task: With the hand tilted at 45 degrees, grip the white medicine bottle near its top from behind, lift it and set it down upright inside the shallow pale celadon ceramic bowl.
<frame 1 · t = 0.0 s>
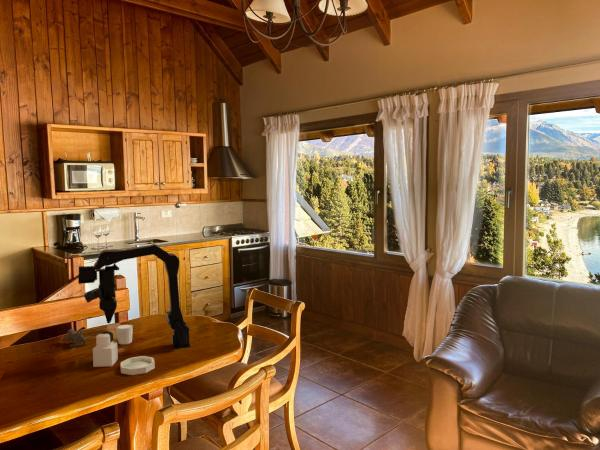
hand: (108, 319, 184), 15 cm above the table, tool pointing down, fingers open, 9 cm apart
medicine bottle: (105, 363, 177), on the table
shot glass: (125, 342, 201), on the table
dog figurine: (74, 344, 198), on the table
bowl: (137, 368, 173), on the table
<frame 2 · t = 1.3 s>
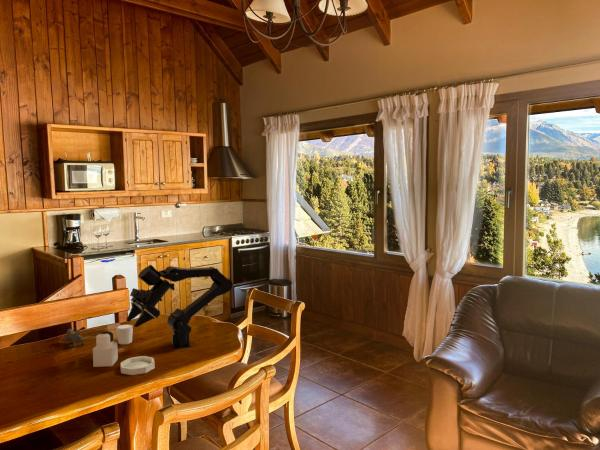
hand: (130, 323, 182), 14 cm above the table, tool tilted 45°, fingers open, 9 cm apart
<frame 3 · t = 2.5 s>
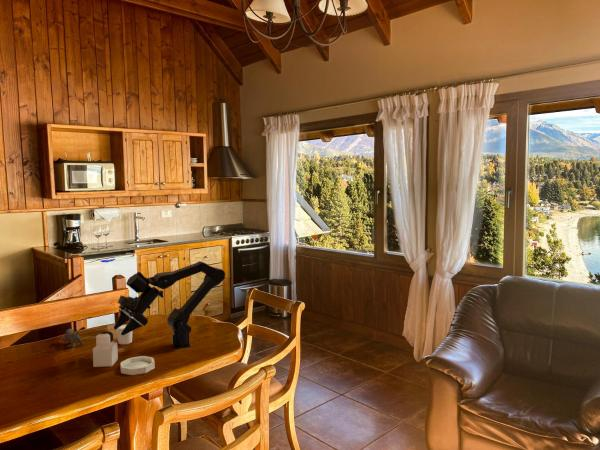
hand: (118, 331, 179), 11 cm above the table, tool tilted 45°, fingers open, 9 cm apart
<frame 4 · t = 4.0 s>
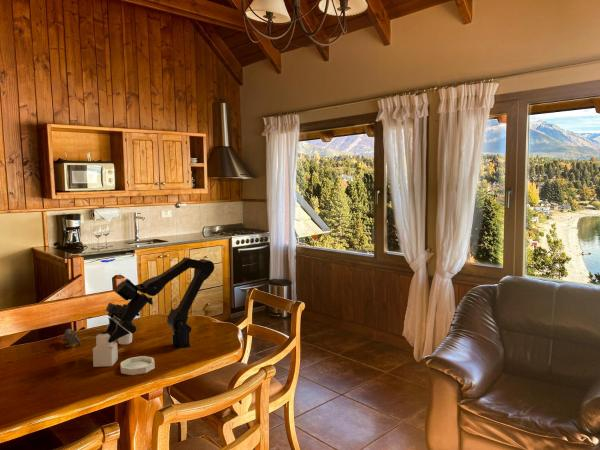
hand: (106, 339, 177), 9 cm above the table, tool tilted 45°, fingers closed on medicine bottle, 6 cm apart
medicine bottle: (105, 363, 177), on the table, touching gripper
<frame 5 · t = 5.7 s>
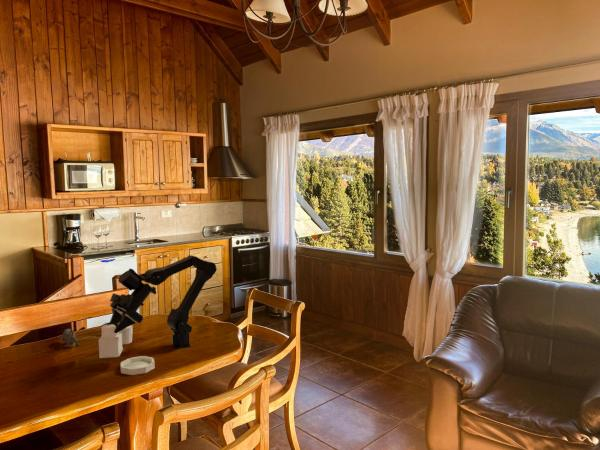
hand: (111, 330, 175), 13 cm above the table, tool tilted 45°, fingers closed on medicine bottle, 6 cm apart
medicine bottle: (111, 354, 176), point 4 cm above the table, touching gripper
when the fingers open (11 cm above the table, at t = 7.4 s): medicine bottle stays where it is, resting on bowl.
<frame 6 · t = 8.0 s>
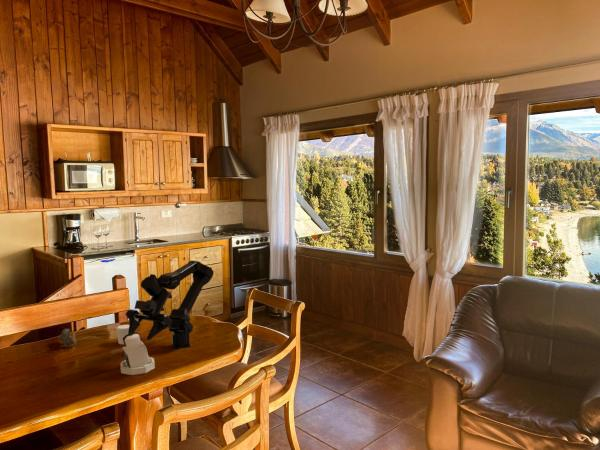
hand: (138, 338, 172), 11 cm above the table, tool tilted 45°, fingers open, 9 cm apart
medicine bottle: (138, 364, 173), point 1 cm above the table, touching bowl
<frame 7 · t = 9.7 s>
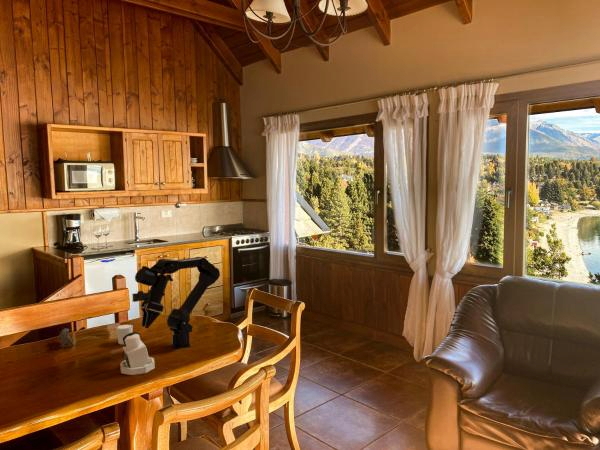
hand: (144, 327, 181), 13 cm above the table, tool tilted 25°, fingers open, 9 cm apart
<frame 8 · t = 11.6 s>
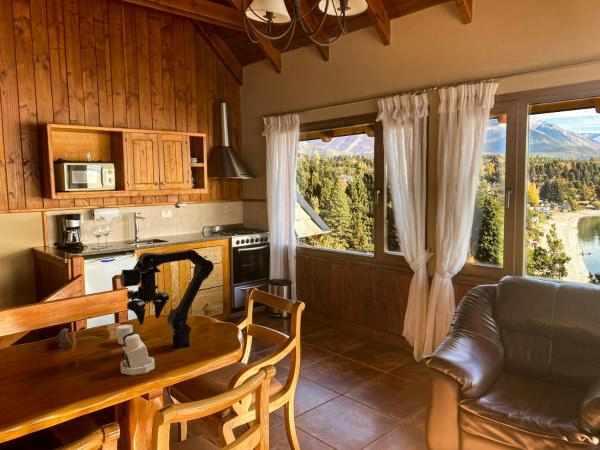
hand: (149, 321, 188), 13 cm above the table, tool pointing down, fingers open, 9 cm apart
at the end: medicine bottle 0.5 cm off-centre on the bowl, point 1.3 cm above the bowl's base; medicine bottle tilted 12°; the gripper is holding nothing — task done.
